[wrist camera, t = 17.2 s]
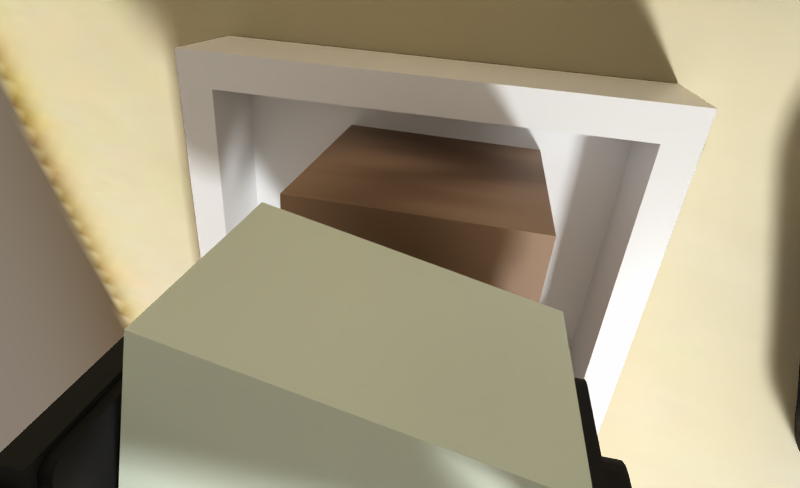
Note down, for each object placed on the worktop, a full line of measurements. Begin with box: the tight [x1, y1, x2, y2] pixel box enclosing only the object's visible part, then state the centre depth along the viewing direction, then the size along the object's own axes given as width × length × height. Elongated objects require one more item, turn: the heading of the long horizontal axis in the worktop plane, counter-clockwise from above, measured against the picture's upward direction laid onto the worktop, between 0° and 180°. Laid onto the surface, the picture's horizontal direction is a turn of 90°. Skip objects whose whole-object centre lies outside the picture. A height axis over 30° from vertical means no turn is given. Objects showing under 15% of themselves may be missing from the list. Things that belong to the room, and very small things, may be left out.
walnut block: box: [280, 125, 556, 303], centre depth 15 cm, size 6×6×6 cm
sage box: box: [118, 202, 592, 488], centre depth 9 cm, size 6×6×4 cm
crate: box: [174, 36, 717, 435], centre depth 18 cm, size 14×20×6 cm
